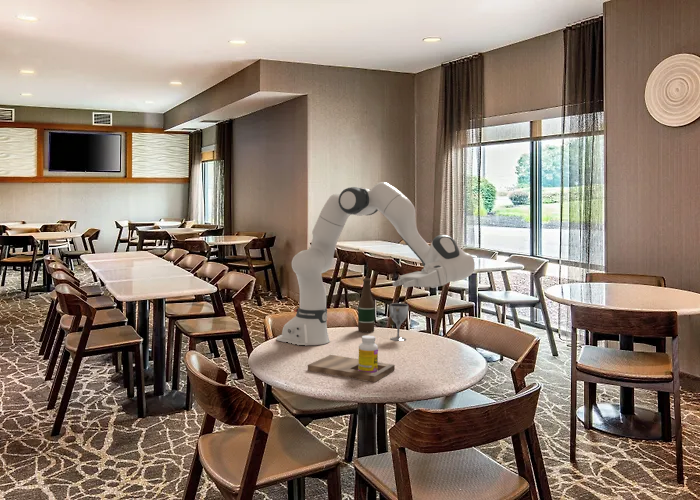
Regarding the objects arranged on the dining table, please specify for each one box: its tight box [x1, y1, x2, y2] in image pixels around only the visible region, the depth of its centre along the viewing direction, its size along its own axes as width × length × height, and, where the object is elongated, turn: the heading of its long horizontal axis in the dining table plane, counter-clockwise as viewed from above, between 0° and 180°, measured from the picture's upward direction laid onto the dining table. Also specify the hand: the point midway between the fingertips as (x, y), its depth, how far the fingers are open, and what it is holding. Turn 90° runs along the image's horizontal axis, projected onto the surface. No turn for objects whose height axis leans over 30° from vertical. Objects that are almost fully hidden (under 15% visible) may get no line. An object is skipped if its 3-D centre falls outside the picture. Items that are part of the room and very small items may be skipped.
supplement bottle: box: [358, 334, 379, 373], centre depth 209 cm, size 7×7×13 cm
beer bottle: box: [357, 277, 376, 334], centre depth 275 cm, size 8×8×24 cm
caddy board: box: [307, 354, 396, 383], centre depth 213 cm, size 26×16×2 cm, turn 62°
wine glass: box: [389, 302, 409, 342], centre depth 260 cm, size 8×8×15 cm
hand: (398, 285), depth 214 cm, fingers open, 8 cm apart
